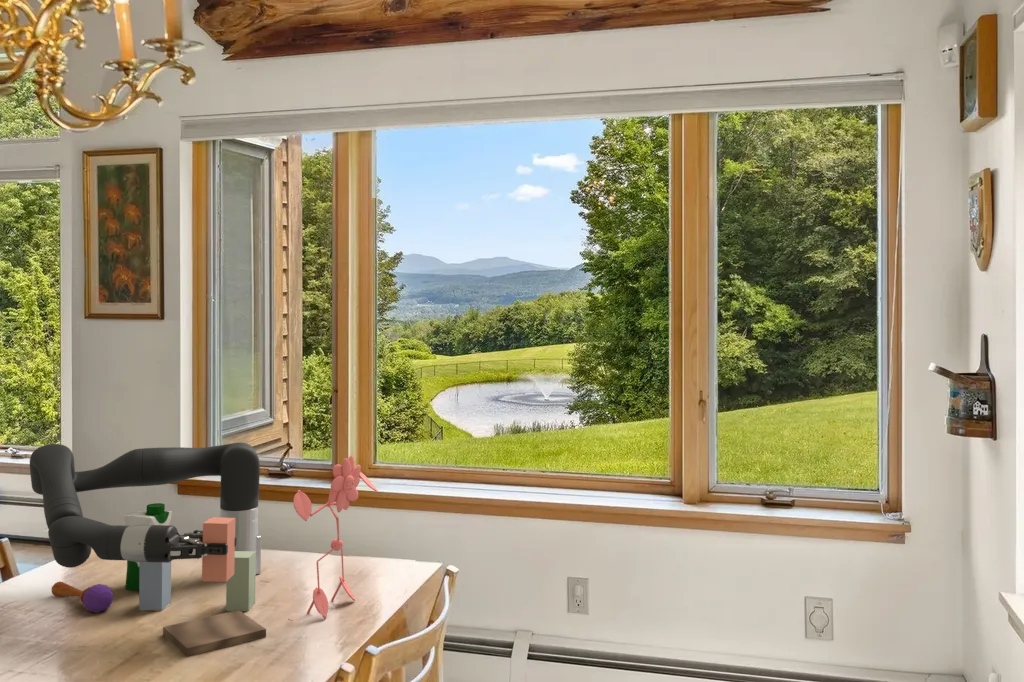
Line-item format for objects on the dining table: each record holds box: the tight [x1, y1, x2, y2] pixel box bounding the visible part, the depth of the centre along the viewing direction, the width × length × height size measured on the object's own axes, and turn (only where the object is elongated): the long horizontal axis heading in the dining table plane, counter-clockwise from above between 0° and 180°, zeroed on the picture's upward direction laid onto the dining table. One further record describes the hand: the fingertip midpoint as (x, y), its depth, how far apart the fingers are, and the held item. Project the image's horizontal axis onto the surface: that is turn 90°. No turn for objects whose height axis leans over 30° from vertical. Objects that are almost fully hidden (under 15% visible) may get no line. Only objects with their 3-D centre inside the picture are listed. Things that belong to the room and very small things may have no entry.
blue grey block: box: [138, 561, 172, 611], centre depth 186 cm, size 5×5×12 cm
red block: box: [201, 516, 235, 583], centre depth 172 cm, size 5×5×12 cm
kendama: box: [51, 581, 114, 613], centre depth 187 cm, size 6×6×20 cm
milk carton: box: [123, 502, 173, 592], centre depth 199 cm, size 9×9×20 cm
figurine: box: [287, 454, 378, 622], centre depth 184 cm, size 15×26×35 cm, turn 157°
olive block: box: [225, 551, 257, 612], centre depth 187 cm, size 5×5×12 cm
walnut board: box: [162, 610, 267, 657], centre depth 170 cm, size 16×14×2 cm
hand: (231, 545), depth 172 cm, fingers closed on red block, 5 cm apart
